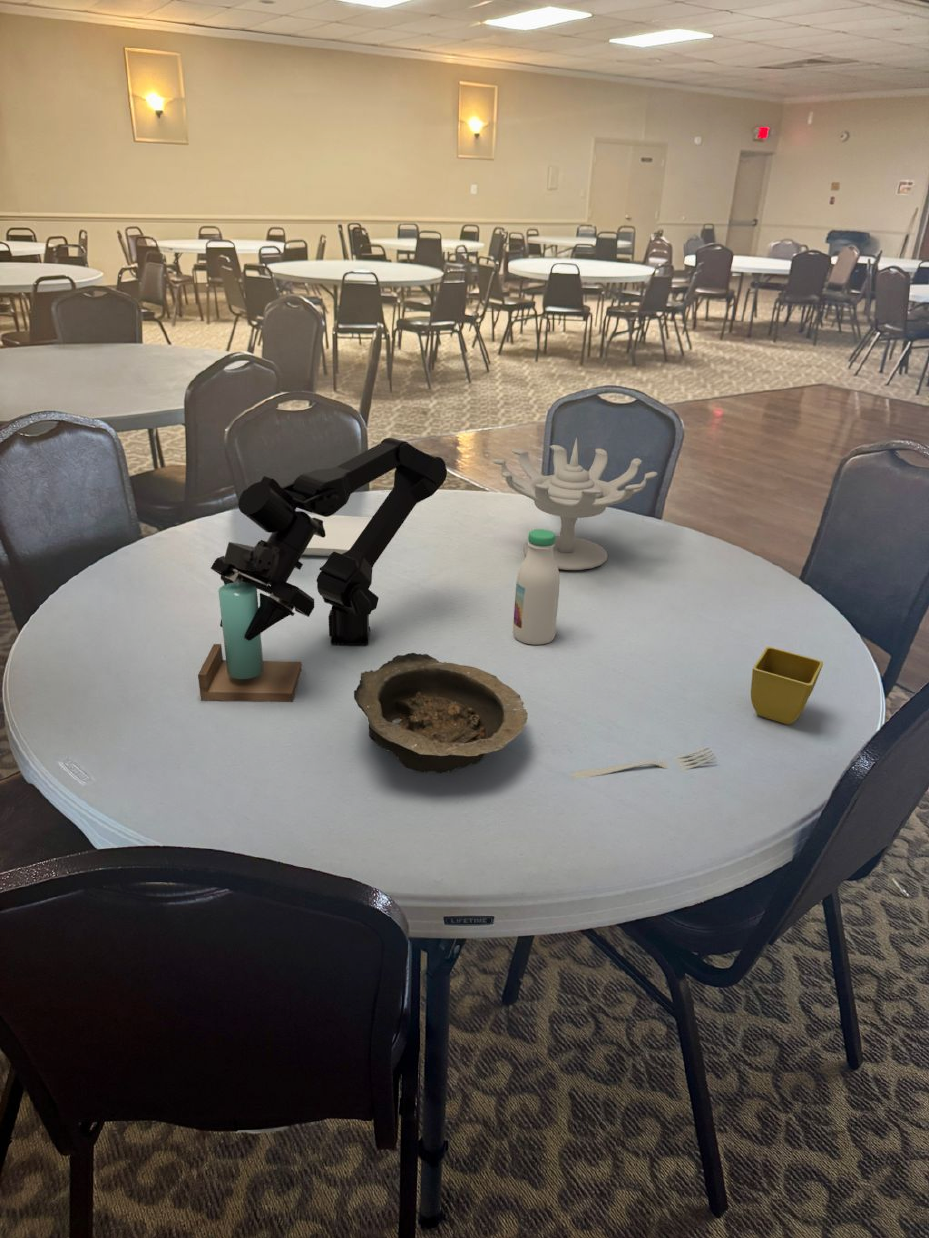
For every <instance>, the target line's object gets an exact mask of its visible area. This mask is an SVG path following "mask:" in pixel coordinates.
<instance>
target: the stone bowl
mask: <svg viewBox="0 0 929 1238" xmlns="http://www.w3.org/2000/svg"><path fill="white" fill-rule="evenodd" d="M353 699H354V701H355V702H356V704H357V707H358V708H359V709H361V711H362V712H363V713H364V715H365V716H366V717H367V723H368V736H369V738H370V740H371V741H372V742H375V743H376V744H377V746H378V747H381V749H383V750H386V751H387V752H389V753H393V754H394V755H395V756H396V758H397V760H398V761H399V762H400V763H401V765H403V766H404V767H405V768H406V769H409V770H412V771H414V772H417V773H430V772H433V773H437V774H444V773H445V774H446V773H448V772H453V771H454V770H458V769H462V768H463V769H464V768H467V767H468V766H471V765H472V766H473V765H476V764H478V763H479V762H480V761H482V759H483V758H484V757H485V756H486V755H487V754H488V753H490V752H497V751H499V750H502V749H504V748H505V747H506V744H507V743H510V742H511V741H512V740H514V739H515V738H516V737H517V736H518V735H519V734H521V733H522V731H523V729H524V728H525V726H526V724H527V721H528V720H529V719H528V718H529V717H528V716H529V715H528V714H529V713H528V711H527V709H525V707H524V704H525V703H524V701H522V698H521V695H520V694H518V693H517V692H516V690H514V689H513V688H512V687H510V686H509V685H507V684H505V683H504V682H502V681H501V680H500V679H499V678H498V677H497V675H493V674H491V673H489V672H487V671H485V670H482V669H480V668H478V667H474V666H470V665H465V664H464V665H463V664H458V663H453V662H446V661H444V662H441V661H440V660H438V659H437V658H435V657H433V656H431V655H429V654H427V653H423V654H422V653H416V652H410V653H406V654H403V655H401V654H400V655H398V654H397V655H396V656H393V657H392V659H391V660H388V661H387V662H386V663H383V664H382V665H381V666H380V667H379V669H376V670H374V671H373V669H371V670H369V671H367V670H366V671H364V672H361V673H360V679H359V684H358V685H357V687H356V689H355V690H353ZM394 720H400V721H399V722H393V721H394Z"/></svg>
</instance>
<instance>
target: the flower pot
mask: <svg viewBox="0 0 929 1238" xmlns="http://www.w3.org/2000/svg"><path fill="white" fill-rule="evenodd" d="M823 665H824V663H823V661H821V660H819V659H817V658H812V657H810V656H804V655H801V654H798V653H794V652H790V651H786V650H783V649H779V648H775V647H772V646H766V647H765V648H764V650H763V652H762V654H761V655H760V657H759V659H758V660H757V661H756V663H755V664H753V667H752V672H751V673H752V674H751V684H750V700H751V703H752V708H753V710H754V711H755V713H756V714H757V716H759V717H762V718H765V719H769V720H771V721H775V722H778V723H782V724H785V725H788V726H789V725H791V724H793V723H794V722H795V721H796V720H797V719H798V718H799V717H800V715H801V714H802V713H803V711H804V708H805V706H806V704H807V703H808V702H807V701H808V700H809V698H810V696H811V694H812V693H813V691H814V688H815V686H816V684H817V680H818V678H819V675H820V673H821V671H822V668H823Z"/></svg>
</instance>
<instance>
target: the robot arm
mask: <svg viewBox="0 0 929 1238" xmlns="http://www.w3.org/2000/svg"><path fill="white" fill-rule="evenodd" d="M394 469H395V470H394ZM393 470H394V475H393V477H394V478H393V488H392V489H391V491H390V492H389V493H388V495H387V496H386V497H385V499H384V500H383V502H382V503H381V505H380V506H379V507H378V509H377V510H376V511H375V512H374V513H373V514H374V515H373V516H372V517H371V518H372V519H371V520H370V521H369V523H368V524H367V526H366V527H365V529H364V530H363V531H362V533H361V534H360V536H359V537H358V538H357V540H356V541H355V543H354V544H353V545H352V547H351V548H350V549H349V550H348V551H347V552H345V553H343V554H340V553H337V552H333V553H332V554H330V556H328V558H327V560H326V561H325V563H324V564H323V565H321V567H319V571H320V572H319V573H318V575H317V578H316V582H317V584H316V588H317V592H318V594H319V596H321V597H322V599H323V602H324V603H326V604H329V605H330V606H331V609H330V610H329V614H328V636H329V637H330V638H331V640H330V645H339V646H340V645H342V646H344V645H345V646H347V645H349V646H351V645H352V646H367V645H368V644H369V640H370V634H371V627H370V614H372V611H375V610H376V609H377V607H378V602H379V596H378V595H377V594H375V593H374V592H373V591H371V590H370V587H371V586H372V581H373V580H372V579H373V568H374V566H375V564H376V563H377V561H378V560H379V558H380V557H381V555H382V554H383V552H384V551H385V550H386V548H387V547H388V545H389V544H390V543H391V541H392V540H393V538H394V537H395V535H396V534H397V533H398V531H399V529H400V528H401V527H402V526H403V524H404V522H405V521H406V519H407V518H408V516H409V515H410V514H411V512H412V511H413V509H414V508H415V506H416V505H418V504H419V503H421V502H423V501H424V500H426V499H428V498H430V497H432V496H433V495H434V494H435V493H436V492H437V491H438V490H439V489H440V488H441V486H442V485H443V484H444V483H445V481H446V478H447V474H448V470H447V466H446V462H445V459H443V458H442V457H441V456H440V457H439V456H436V455H432V454H429V453H425V452H423V451H422V450H420V449H418V448H416V447H415V446H413V445H412V444H410V443H409V442H408V441H404V440H401V439H398V438H393V437H387V438H384V439H382V440H381V442H380V443H379V444H377V445H375V446H372V447H371V448H369V449H368V450H365V451H363V452H362V453H360V454H358V455H356V456H354V457H351V459H349V460H346V461H345V462H343V463H341V464H339V465H337V466H335V467H331V468H323V469H316V470H315V469H314V470H311V471H308V472H306V473H305V472H304V473H301V474H300V475H299V476H297V477H296V478H295V479H294V481H293V482H291V483H289V484H287V485H285V486H282V487H281V485H280V484H279V483H278V481H277V480H275V479H274V478H272V477H269V476H266V475H263V476H262V479H261V481H257V482H255V483H253V484H251V485H250V486H248V487H247V488H246V489H244V490H243V491H242V493H241V494H240V496H239V499H238V509H239V511H240V513H241V514H243V515H244V516H246V517H247V518H248V519H249V520H250V521H252V523H254V524H256V525H257V526H259V527H260V528H261V529H262V530H264V531H265V532H266V533H270V536H269V537H268V539H267V540H266V541H265V540H263V539H260V540H259V541H258V542H257V543H256V545H254V546H251V545H247V544H243V543H237V542H231V541H229V542H228V543H227V548H226V552H225V554H224V555H222V556H220V557H219V556H218V557H216V558H215V560H214V562H213V563H212V565H211V566H210V569H211V570H212V571H214V572H215V573H217V574H218V575H219V576H220V580H221V581H223V584H224V585H226V584H229V583H234V582H247V583H251V584H254V585H255V586H256V587H257V590H259V591H262V592H264V593H265V594H264V593H262V592H260V593H259V605H258V610H257V612H256V614H255V616H254V618H253V620H252V621H251V623H250V625H249V627H248V629H247V631H246V634H245V636H244V638H245V639H247V640H248V641H250V640H252V639H253V638H255V637H256V636H257V635H259V634H260V633H261V634H262V633H264V632H265V631H266V630H268V629H269V628H271V627H273V626H274V625H275V624H277V623H279V622H280V621H282V620H285V618H287V617H288V616H291V617H293V616H295V614H296V613H297V614H298V613H299V614H300V615H303V616H306V617H307V618H309V617H310V616H311V614H312V612H313V611H314V609H315V608H316V607H315V598H314V597H312V596H311V595H309V594H308V593H306V592H305V591H304V590H302V589H301V588H300V587H299V586H296V585H294V584H292V583H289V582H288V580H289V578H290V577H291V575H292V573H293V571H294V570H296V569H297V570H299V571H300V570H301V569H302V567H303V566H304V563H302V562H301V561H300V560H301V558H302V556H303V555H302V554H303V553H304V551H305V549H306V548H307V546H308V544H309V542H310V541H311V539H312V537H313V536H314V535H317V536H320V537H323V538H324V537H325V536H326V534H325V530H324V527H323V521H322V520H320V519H317V518H311V517H310V516H309V515H308V514H309V513H311V514H314V515H320V516H324V517H329V516H331V515H334V514H336V513H337V512H338V511H339V510H340V509H342V508H343V507H344V506H346V505H347V504H348V502H349V499H350V497H351V495H352V494H353V493H354V492H356V491H357V490H360V489H361V488H363V487H364V486H366V485H367V484H369V483H371V482H373V481H375V480H377V479H379V478H381V477H382V476H384V475H385V474H387V473H389V472H391V471H393ZM297 508H298V509H301V510H303V511H300V510H299V511H298V510H297ZM306 512H308V513H306ZM224 585H223V586H224ZM267 594H268V595H267ZM293 611H295V612H296V613H295V612H293ZM219 626H220V627H221V628H222V619H220V623H219Z"/></svg>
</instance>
